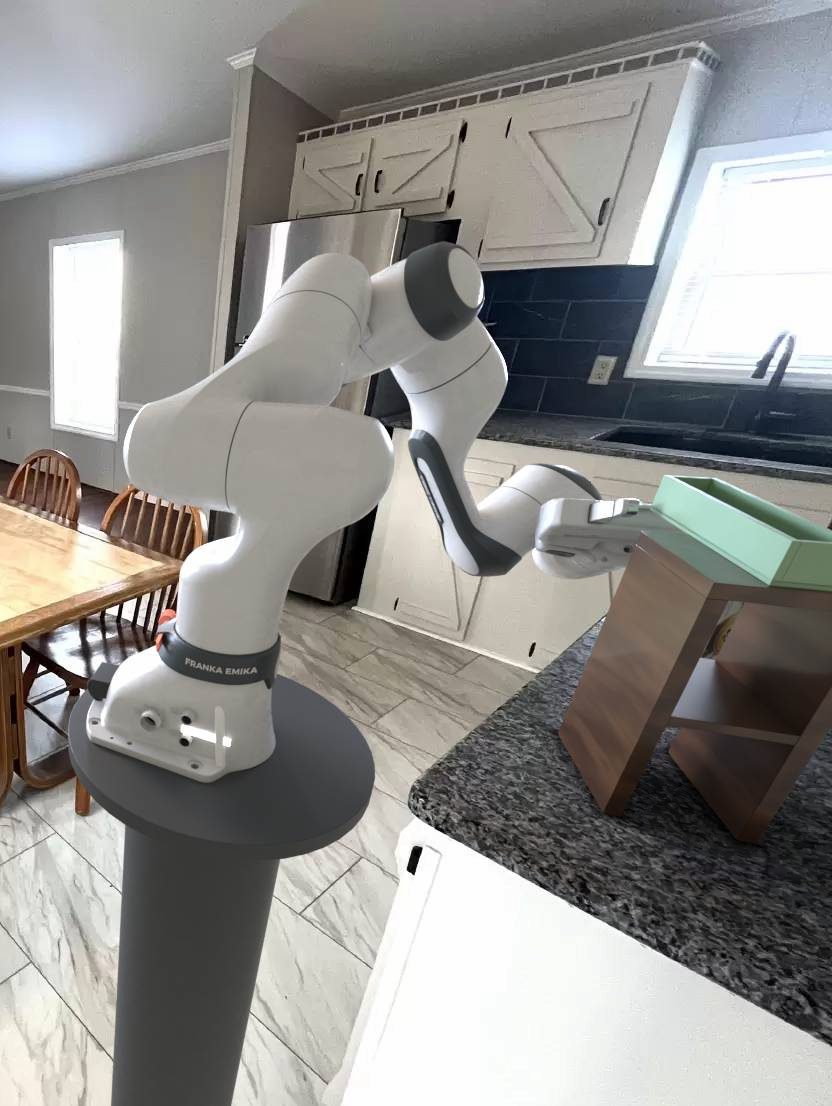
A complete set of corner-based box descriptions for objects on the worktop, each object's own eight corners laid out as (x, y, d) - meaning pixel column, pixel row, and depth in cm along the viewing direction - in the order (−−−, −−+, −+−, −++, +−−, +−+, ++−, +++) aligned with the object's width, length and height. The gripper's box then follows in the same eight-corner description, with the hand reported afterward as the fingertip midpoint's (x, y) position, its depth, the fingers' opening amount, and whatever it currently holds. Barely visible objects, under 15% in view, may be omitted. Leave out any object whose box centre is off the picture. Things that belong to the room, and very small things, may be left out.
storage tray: (768, 585, 53) (792, 540, 51) (649, 509, 71) (663, 474, 69) (842, 593, 51) (869, 546, 50) (700, 513, 70) (716, 477, 68)
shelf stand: (602, 813, 65) (714, 582, 54) (557, 733, 77) (641, 530, 65) (756, 844, 61) (912, 601, 50) (684, 755, 72) (796, 542, 61)
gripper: (717, 569, 78) (810, 549, 65) (520, 549, 85) (568, 528, 72) (724, 519, 78) (817, 489, 65) (527, 503, 85) (576, 474, 72)
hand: (685, 509), depth 69 cm, fingers open, 8 cm apart
